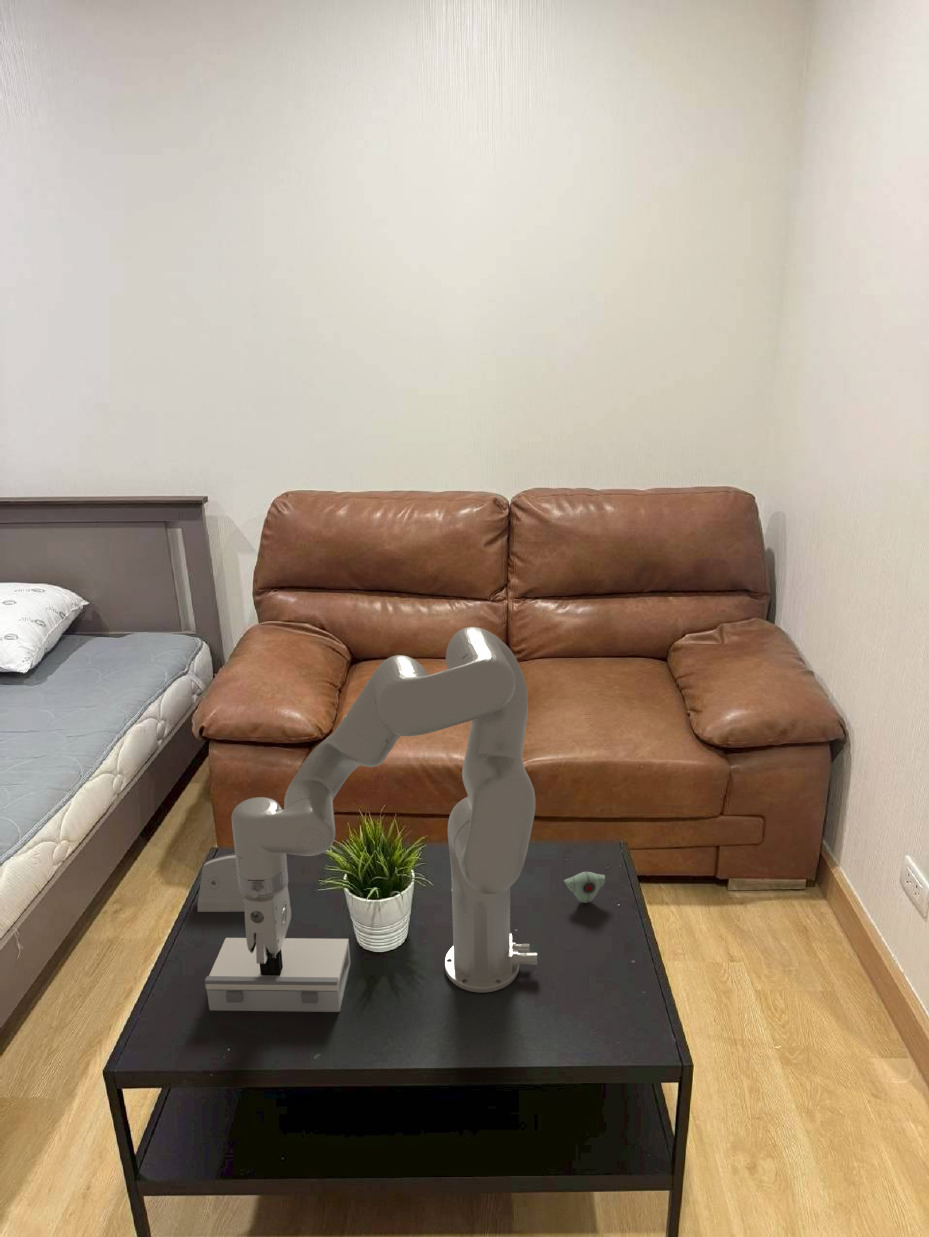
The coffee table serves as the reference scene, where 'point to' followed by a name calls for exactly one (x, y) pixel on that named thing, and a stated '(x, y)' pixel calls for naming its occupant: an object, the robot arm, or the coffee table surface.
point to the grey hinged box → (280, 998)
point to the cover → (302, 966)
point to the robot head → (585, 885)
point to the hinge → (220, 886)
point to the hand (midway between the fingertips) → (271, 971)
